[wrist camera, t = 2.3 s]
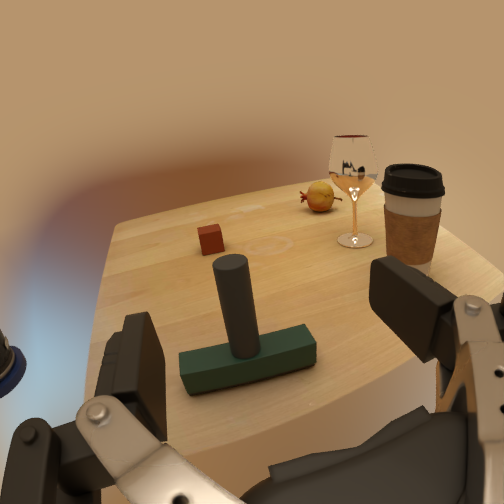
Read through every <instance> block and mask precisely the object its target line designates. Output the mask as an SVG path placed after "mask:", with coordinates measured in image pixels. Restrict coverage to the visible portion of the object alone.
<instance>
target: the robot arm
mask: <svg viewBox="0 0 504 504" xmlns="http://www.w3.org/2000/svg"><path fill="white" fill-rule="evenodd" d="M369 302H370V306H371V308H372V310H373V311H374V312H375V313H376V314H377V315H378V316H379V317H380V318H381V320H382V321H383V322H384V323H385V324H386V325H387V326H388V327H389V328H390V329H391V330H392V331H393V332H394V333H395V334H396V335H397V336H398V337H399V338H400V339H401V340H402V341H403V342H404V343H405V344H406V345H407V346H408V347H409V348H410V349H411V351H412V352H413V353H414V354H415V355H416V356H417V357H418V358H419V359H420V360H421V361H422V362H423V363H426V362H428V361H430V360H432V359H433V358H437V359H438V362H437V365H436V409H435V413H431V414H429V413H428V411H427V410H426V409H425V407H424V406H423V405H422V406H420V407H418V408H417V409H415V410H413V411H411V412H409V413H407V414H405V415H403V416H401V417H399V418H397V419H395V420H393V421H391V422H390V423H389V424H387V425H386V426H385V427H384V428H382V429H381V430H380V431H379V432H377V433H376V434H375V435H373V436H372V437H371V438H370V439H368V440H367V441H365V442H364V443H363V444H361V445H360V446H357V447H354V448H348V449H342V450H335V451H328V452H321V453H312V454H309V455H306V456H302V457H299V458H296V459H292V460H289V461H286V462H283V463H279V464H275V465H271V466H269V467H268V468H269V472H270V477H268V478H267V479H265V480H263V481H261V482H259V483H258V484H256V485H255V486H253V487H252V488H251V489H249V490H248V491H247V492H246V493H244V494H243V496H241V497H240V498H239V499H238V498H237V497H236V496H234V495H233V494H231V493H230V492H228V491H227V490H225V489H224V488H223V487H221V486H220V485H219V484H217V483H216V482H214V481H213V480H212V479H211V478H209V477H208V476H207V475H205V474H204V473H202V472H201V471H200V470H199V469H198V468H196V467H195V466H194V465H193V464H191V463H190V462H189V461H188V460H187V459H185V458H184V457H183V456H182V455H181V454H179V453H178V452H177V451H176V450H175V449H174V448H172V447H171V446H170V445H168V444H167V443H164V444H162V443H161V442H163V441H167V421H166V383H165V358H164V353H163V350H162V347H161V344H160V341H159V339H158V336H157V333H156V331H155V328H154V325H153V323H152V320H151V317H150V315H149V313H148V312H141V313H136V314H131V315H126V317H125V320H124V325H123V329H122V331H120V332H115V333H114V334H113V335H112V337H111V338H110V339H109V341H108V342H107V343H106V347H105V351H104V356H103V359H102V365H101V368H100V372H99V377H98V381H97V386H96V390H95V395H94V398H91V399H90V400H88V401H87V402H85V403H84V404H83V405H82V406H81V407H80V409H79V410H78V412H77V415H76V420H75V421H72V422H69V423H66V424H63V425H60V426H58V427H54V428H51V426H50V425H49V424H48V423H47V422H46V421H45V420H43V419H41V418H30V419H27V420H25V421H24V422H22V423H21V424H20V425H19V426H18V427H17V429H16V430H15V432H14V434H13V437H12V441H11V445H10V449H9V453H8V458H7V462H6V467H5V472H4V477H3V483H2V489H1V496H0V504H101V489H102V488H105V487H108V486H112V485H116V486H117V488H118V489H119V490H120V491H121V493H122V494H123V495H124V496H125V497H126V498H127V499H128V501H129V502H130V503H131V504H504V293H503V297H502V300H501V303H497V304H492V305H489V303H488V302H487V301H485V300H484V299H482V298H480V297H477V296H473V295H463V296H460V297H456V296H455V295H454V294H452V293H451V292H450V291H448V290H447V289H445V288H444V287H443V286H441V285H440V284H438V283H437V282H434V281H433V279H431V278H430V277H428V276H426V275H425V274H424V273H423V272H421V271H420V270H418V269H416V268H414V267H411V266H408V265H406V264H404V263H403V262H401V261H400V260H398V259H397V258H395V257H394V256H392V255H389V256H386V257H382V258H378V259H375V260H373V261H372V263H371V268H370V286H369ZM15 363H16V355H15V353H14V352H13V350H12V348H11V347H10V346H9V344H8V339H7V338H6V337H4V335H3V333H2V331H1V330H0V383H1V382H2V381H3V380H4V379H5V378H6V377H7V376H8V375H9V374H10V373H11V371H12V370H13V368H14V366H15Z"/></svg>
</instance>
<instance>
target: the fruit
mask: <svg viewBox="0 0 504 504" xmlns="http://www.w3.org/2000/svg"><path fill="white" fill-rule="evenodd" d="M300 194H302V196H300V197H301V198H303V199H302V200H301V203H302V201H303V202H304V200H307V203H308V206H309V207H310V208H311V209H312V210H314V211H320V212H322V211H327V210H328V209H330V208H331V206H332V204H333V202H334V199H338V200H341V201H342V199H341V198H336V197H334V192H333V189H332V187H331V186H330V185H329V184H327V183H325V182H322V181H319V182H315V183H313V184H312V185H311V186H310V187H309V189H308V192H307V193H306V194H305V193H302V192H301V191H300Z"/></svg>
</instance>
